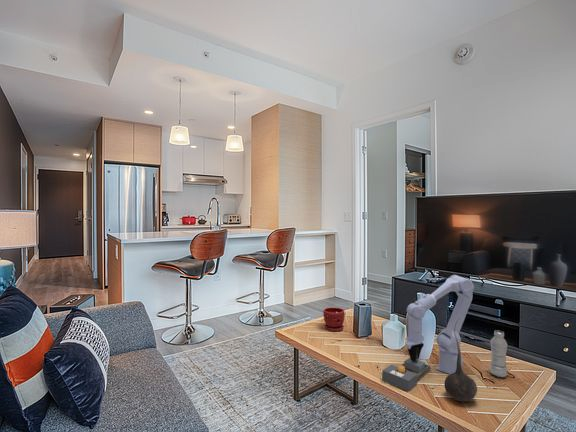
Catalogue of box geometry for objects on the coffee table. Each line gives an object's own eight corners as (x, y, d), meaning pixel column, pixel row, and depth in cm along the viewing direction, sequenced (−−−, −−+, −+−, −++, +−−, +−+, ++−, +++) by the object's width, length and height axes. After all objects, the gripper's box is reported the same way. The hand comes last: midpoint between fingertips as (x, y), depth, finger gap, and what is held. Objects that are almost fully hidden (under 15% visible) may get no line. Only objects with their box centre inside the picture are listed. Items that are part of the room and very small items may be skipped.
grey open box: (417, 384, 139) (417, 373, 139) (408, 391, 133) (408, 379, 133) (391, 374, 147) (391, 363, 147) (382, 380, 142) (382, 369, 142)
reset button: (406, 375, 141) (406, 367, 141) (402, 378, 139) (403, 369, 139) (399, 373, 143) (399, 364, 143) (396, 375, 141) (396, 366, 141)
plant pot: (346, 327, 207) (346, 308, 207) (341, 334, 195) (341, 314, 195) (326, 323, 212) (327, 305, 212) (320, 330, 200) (320, 311, 200)
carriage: (424, 368, 150) (425, 351, 150) (419, 373, 146) (419, 355, 146) (410, 363, 155) (410, 346, 155) (404, 367, 151) (404, 350, 151)
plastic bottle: (501, 380, 143) (502, 335, 142) (486, 373, 149) (487, 330, 148) (510, 377, 146) (511, 333, 145) (494, 370, 152) (495, 328, 151)
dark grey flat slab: (430, 370, 151) (430, 365, 151) (415, 383, 140) (415, 377, 140) (409, 363, 158) (409, 358, 158) (393, 374, 147) (393, 369, 147)
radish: (477, 393, 133) (478, 320, 132) (476, 410, 121) (478, 330, 120) (446, 385, 139) (447, 315, 138) (442, 401, 127) (444, 324, 126)
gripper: (413, 324, 158) (413, 352, 158) (399, 331, 148) (398, 361, 148) (428, 328, 153) (427, 356, 153) (414, 336, 143) (414, 366, 143)
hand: (414, 359), depth 150 cm, fingers closed on carriage, 2 cm apart
